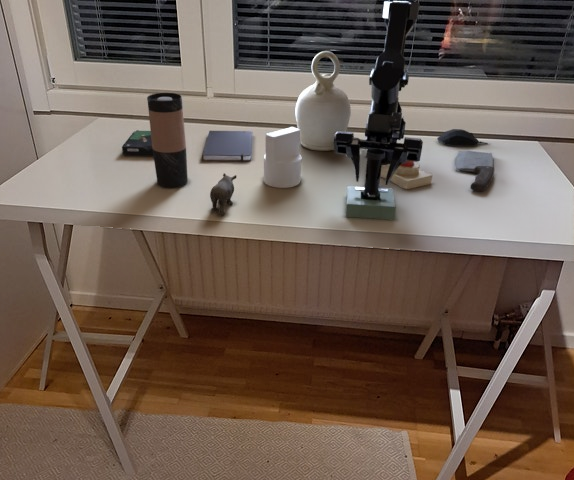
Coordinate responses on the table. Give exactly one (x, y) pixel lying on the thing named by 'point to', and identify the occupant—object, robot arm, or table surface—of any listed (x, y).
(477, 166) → the cleaver
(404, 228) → the table surface
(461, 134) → the gaming mouse
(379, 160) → the black flanged tube
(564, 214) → the table surface
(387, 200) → the green square frame
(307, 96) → the white bell
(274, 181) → the cylinder with rectangular tab
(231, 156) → the notebook
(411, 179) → the panel
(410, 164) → the button
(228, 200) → the rhino figurine
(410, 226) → the table surface
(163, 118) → the travel mug
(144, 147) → the disk drive
